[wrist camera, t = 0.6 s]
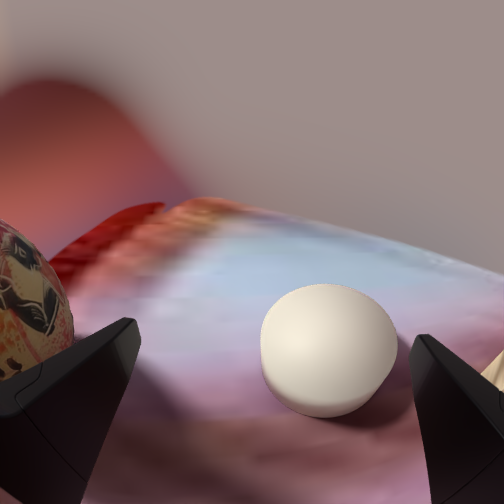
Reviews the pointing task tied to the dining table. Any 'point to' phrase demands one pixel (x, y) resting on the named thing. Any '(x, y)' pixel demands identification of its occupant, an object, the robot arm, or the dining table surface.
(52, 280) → the ceramic jug
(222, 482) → the dining table surface
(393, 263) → the dining table surface
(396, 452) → the dining table surface
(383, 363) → the cream plinth
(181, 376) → the dining table surface
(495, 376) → the maple block
